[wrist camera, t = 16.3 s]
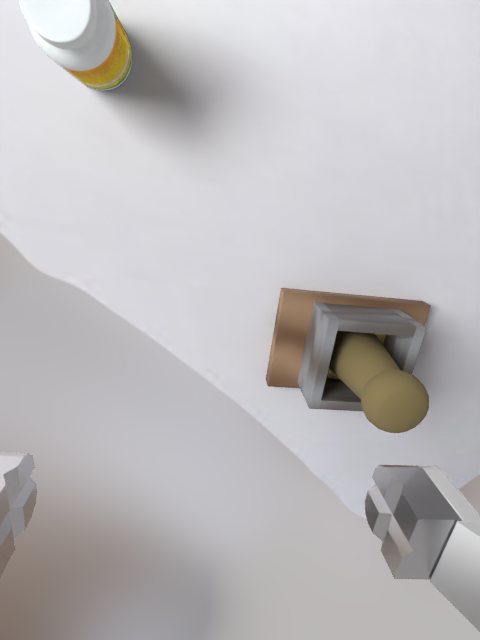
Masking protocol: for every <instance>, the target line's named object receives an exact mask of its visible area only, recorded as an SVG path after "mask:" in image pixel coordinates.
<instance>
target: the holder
mask: <svg viewBox="0 0 480 640" xmlns="http://www.w3.org/2000/svg"><path fill="white" fill-rule="evenodd" d="M429 308H430V305H428V304H427V303H425V302H423V301H416V300H405V299H394V298H383V297H373V296H362V295H351V294H341V293H330V292H319V291H309V290H298V289H287V288H281V292H280V298H279V304H278V310H277V316H276V322H275V328H274V334H273V340H272V346H271V352H270V358H269V364H268V370H267V376H266V381H267V385H268V386H273V387H290V388H300V389H301V391H302V393H303V396H304V398H305V400H306V402H307V405H308V407H309V408H310V409H329V410H349V411H363V409H362V405H361V399H360V398H359V397H358V396H357V395H356V394H355V393H354V392H353V391H352V390H351V389H350V388H349V387H348V386H347V385H346V384H345V383H344V382H343V381H341V380H340V379H333V378H326V377H327V373H328V368H329V364H330V360H331V356H332V351H333V347H334V343H335V338H336V334H337V331H349V332H361V333H374V334H387V335H386V338H385V342H384V345H383V346H384V347H385V348H386V350H387V351H388V353H389V354H390V356H391V357H392V359H393V360H394V361H395V363H396V364H397V366H398V367H399V369H400V370H402V371H404V372H407V373H409V374H412V371H413V368H414V365H415V362H416V359H417V356H418V353H419V350H420V347H421V344H422V341H423V338H424V335H425V331H426V327H425V326H424V323H425V320H426V317H427V314H428V311H429Z"/></svg>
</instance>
